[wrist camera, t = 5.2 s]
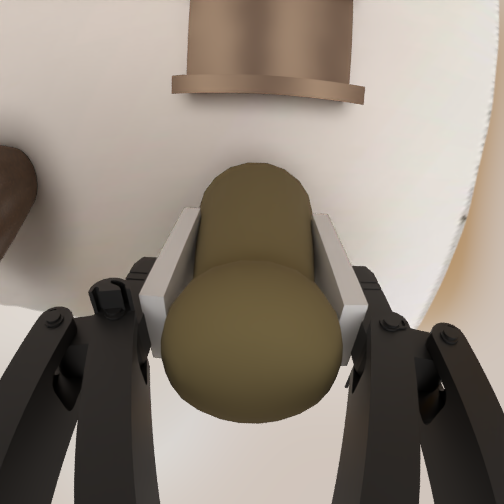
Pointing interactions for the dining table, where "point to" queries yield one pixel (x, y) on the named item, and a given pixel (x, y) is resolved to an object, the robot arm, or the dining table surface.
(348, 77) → the spice rack
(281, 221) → the olive peg figure
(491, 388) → the robot arm
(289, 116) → the dining table surface
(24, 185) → the plant pot
